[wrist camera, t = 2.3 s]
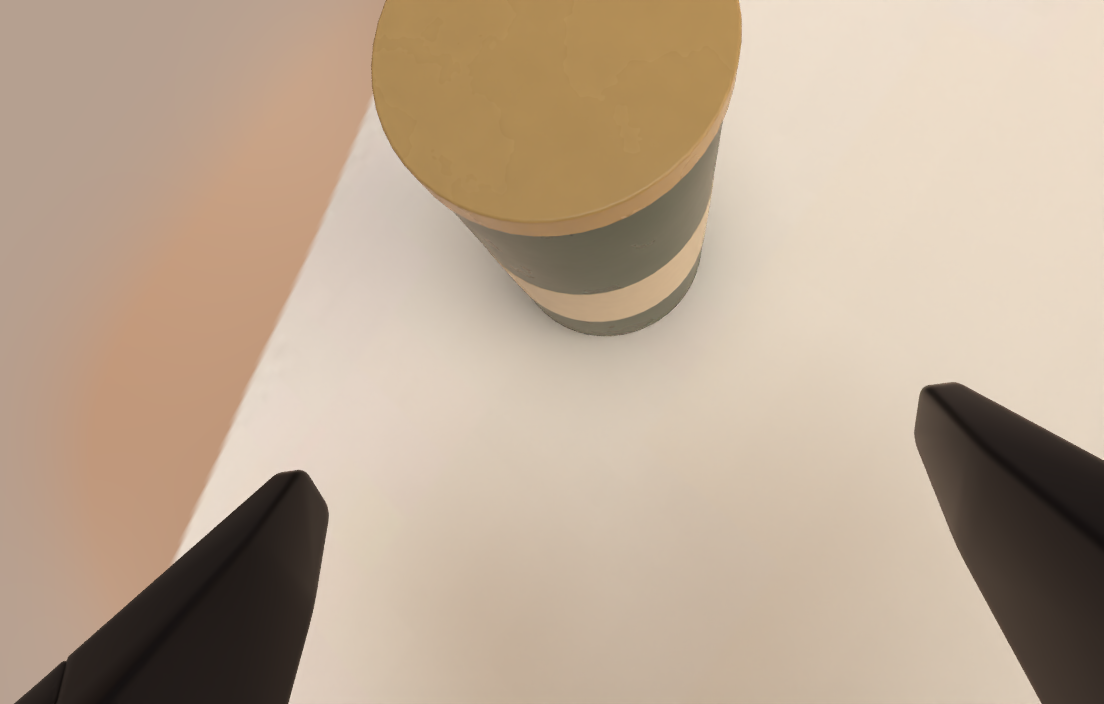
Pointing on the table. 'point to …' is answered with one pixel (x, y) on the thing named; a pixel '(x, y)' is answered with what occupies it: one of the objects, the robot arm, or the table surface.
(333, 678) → the table surface
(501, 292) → the table surface
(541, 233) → the tea tin
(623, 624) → the table surface
